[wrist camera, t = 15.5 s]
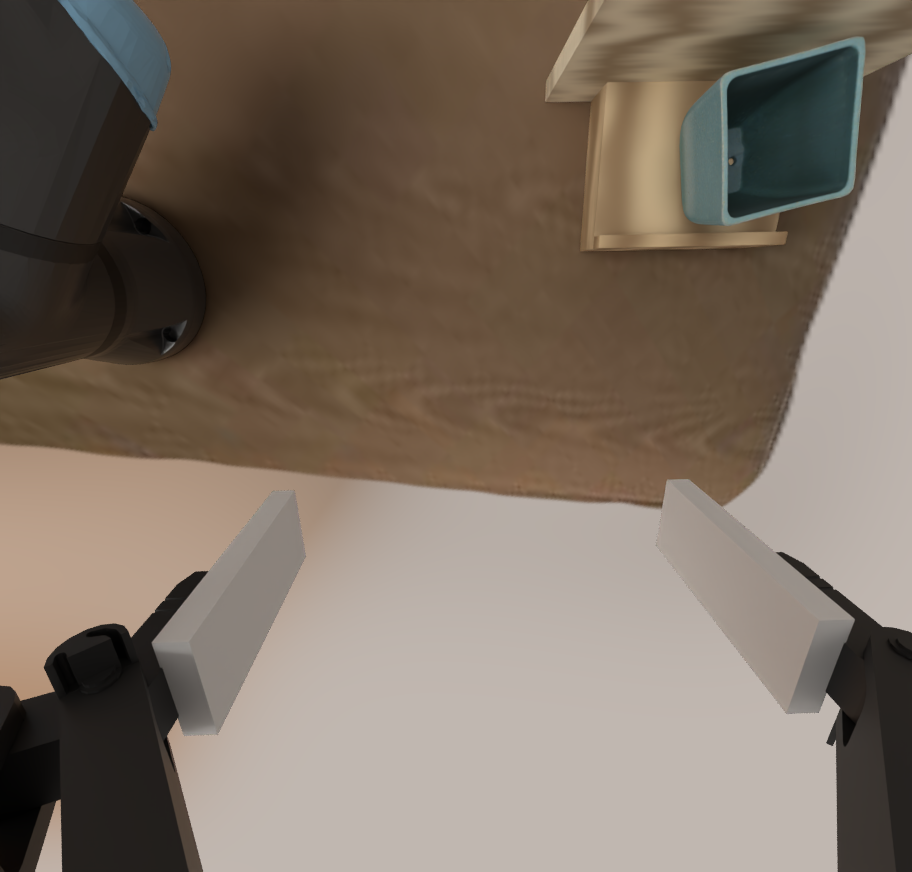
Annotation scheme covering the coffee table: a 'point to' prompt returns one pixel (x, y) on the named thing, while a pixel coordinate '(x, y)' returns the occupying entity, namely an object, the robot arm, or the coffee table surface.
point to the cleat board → (686, 98)
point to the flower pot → (774, 136)
